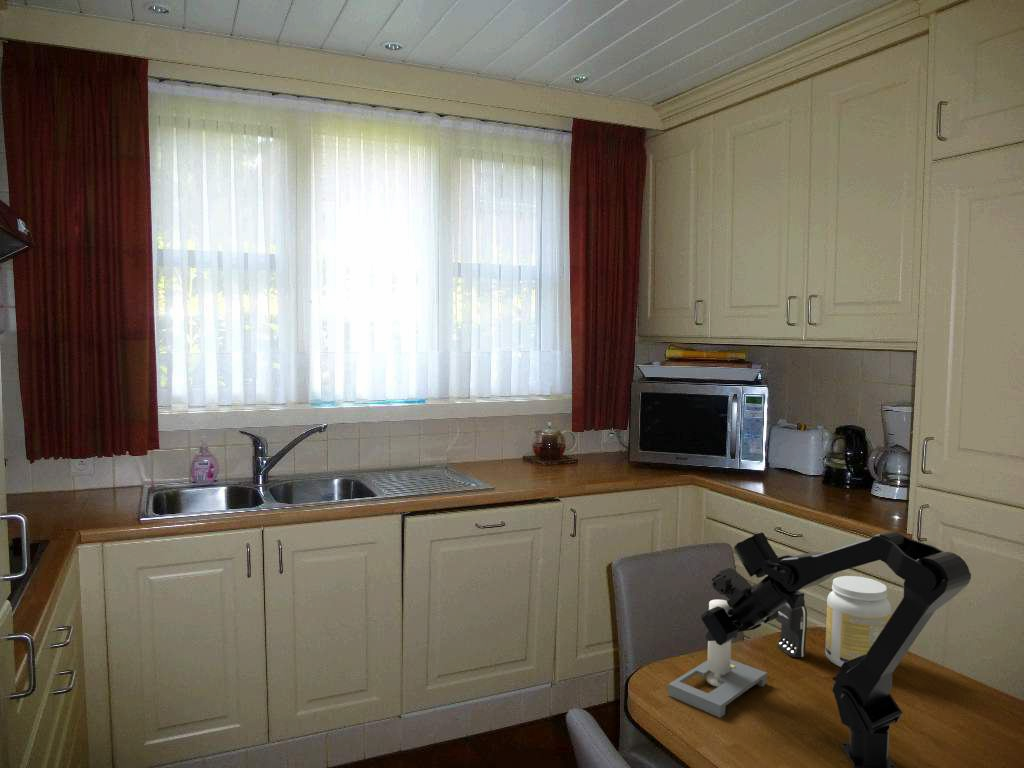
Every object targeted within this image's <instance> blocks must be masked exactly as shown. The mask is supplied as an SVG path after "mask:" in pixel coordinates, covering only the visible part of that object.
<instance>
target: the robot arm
mask: <svg viewBox="0 0 1024 768" xmlns="http://www.w3.org/2000/svg"><path fill="white" fill-rule="evenodd" d="M733 551H734V552H735V554H736V556H737V557H738V559H739V561H740V562H741V564H742V566H743V567H744V569H745V571H746V572H747V574H748V575H749V577H753V576H755V577H756V578H757V579H759V578H763V577H764V578H763V579H761V580H760V581H759V582H757V583H756V584H755V583H754V584H753V585H752V584H751V583H750V582H748V580H747V579H746V578H745V577H744V576H742V575H741V574H740V573H739V572H737V571H736V569H734V568H730V567H729V568H726V569H723V570H719V571H718V573H716V575H715V576H714V577H712V578H711V582H712V584H711V587H712V589H714V591H715V592H717V593H718V594H719V595H721V596H722V595H724V596H725V598H728V600H726V601H727V603H728V605H729V606H730V607H732V609H730V610H728V611H727V613H728V614H727V613H726V611H725V610H724V608H721V607H718V606H717V607H715V608H712V609H710V610H709V609H708V610H706V611H705V612H703V613H702V614H701V615H700V619H701V621H702V622H703V625H705V627H706V629H707V631H706V634H705V637H704V638H705V639H706V641H707V642H708V641H716V643H717V644H719V645H720V646H721V645H723V644H725V643H727V642H729V641H731V642H732V640H735V639H737V637H738V633H740V632H747V631H751V630H752V631H753V630H756V629H757V628H760V627H761V626H762V623H764V625H767V624H768V623H770V622H772V621H774V620H776V618H777V617H778V611H779V610H778V609H780V608H781V607H783V606H784V605H785V604H787V603H788V604H789V606H790V608H791V609H797V608H801V607H804V606H805V607H806V600H805V593H804V592H800V590H804V589H807V588H811V587H815V586H818V585H820V584H821V583H823V582H825V581H827V580H829V579H830V578H832V577H833V576H834V575H836V574H837V573H839V572H843V571H847V570H849V569H853V568H858V567H860V566H864V565H867V564H870V563H874V562H877V561H882V562H883V563H885V564H886V565H887V566H888V568H889V569H890V570H891V571H892V572H893V573H894V574H895V575H896V576H898V578H901V579H902V580H903V597H902V599H901V601H900V602H899V604H898V605H897V606H896V608H895V610H894V611H893V612H892V614H891V617H890V619H889V620H888V622H887V623H886V625H885V626H884V628H883V630H882V631H881V633H880V634H879V636H878V637H877V639H876V640H875V642H874V643H873V645H872V646H871V648H870V649H869V651H868V652H867V654H866V655H865V654H864V655H862V656H859V657H857V658H854V659H851V660H849V661H846V662H844V663H843V665H842V666H841V667H839V668H840V669H839V671H838V674H836V676H833V677H832V678H831V679H832V681H834V683H833V685H832V693H833V695H834V699H835V702H836V705H837V708H838V714H839V717H840V721H841V724H843V725H845V726H846V727H847V728H848V729H849V743H848V742H842V743H841V748H842V750H843V752H844V753H845V755H846V756H847V758H848V759H849V761H850V763H851V764H852V766H853V767H854V768H897V765H895V763H894V762H893V760H892V759H891V758H890V756H889V743H890V742H889V741H890V739H889V738H890V726H891V725H892V724H895V723H896V724H897V723H898V722H900V719H901V718H902V715H903V711H902V709H901V708H900V706H899V705H898V703H897V702H896V700H895V699H894V698H893V696H892V695H891V693H890V692H891V689H892V688H893V673H894V671H895V670H896V668H897V667H898V665H899V664H900V662H901V661H902V659H904V657H905V655H906V654H907V652H908V651H909V650H910V648H911V647H912V645H913V644H914V642H915V641H916V639H917V638H918V637H919V635H920V634H921V632H922V631H923V629H924V628H925V626H926V625H927V624H928V622H929V621H930V619H931V618H932V616H933V614H935V612H936V611H937V610H938V609H939V608H941V607H943V606H944V605H946V604H947V603H949V601H951V600H952V599H953V598H955V597H956V596H957V595H958V594H960V592H961V591H963V589H965V587H967V586H968V584H969V583H970V581H971V579H972V573H971V571H970V569H969V565H968V564H967V562H966V561H965V560H964V559H963V558H962V557H961V556H960V555H958V554H956V553H954V552H951V551H943V550H942V549H940V548H938V547H936V546H934V545H931V544H928V543H924V542H923V541H922V542H921V541H918V540H916V539H912V538H910V537H908V536H906V535H904V534H903V533H900V532H897V531H894V530H892V531H885V532H880V533H878V534H874V535H873V536H872V537H870V538H866V539H864V540H860V541H857V542H854V543H850V544H847V545H845V546H841V547H839V548H835V549H832V550H830V551H824V552H823V551H822V552H820V551H817V552H807V553H802V554H799V555H789V554H787V555H783V556H778V555H777V554H776V552H775V550H774V549H773V548H772V546H771V543H769V541H768V538H767V536H766V535H765V533H764V532H761V531H760V532H758V533H757V532H756V533H755V534H753V535H752V536H749V537H748V538H746V539H744V540H742V541H740V542H738V543H736V544H735V545H734V547H733ZM728 615H729V616H730V617H729V616H728ZM731 615H732V616H731Z"/></svg>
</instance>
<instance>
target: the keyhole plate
mask: <svg viewBox="0 0 1024 768" xmlns="http://www.w3.org/2000/svg"><path fill="white" fill-rule="evenodd" d="M707 661H708V659H707V660H705V661H704V662H702V663H701V664H699V665H698V666H696V667H694V668H693V669H691V670H689V671H687V672H686V673H684V674H682V675H681V676H680V677H677V678H676V679H674V680H673V681H671V682H670V683H668V694H667V696H668V697H670V698H674V699H675V700H677V701H679V702H683V703H685V704H687V705H689V706H692V707H694V708H696V709H699V710H701V711H703V712H706V713H708V714H710V715H713V716H715V717H716V718H720V719H721V718H722V717H723V716H725V715H726V706H727V705H729V704H730V703H731V702H733V701H734V700H735V699H737V698H738V697H740V696H741V695H742V694H744V693H745V692H747V691H748V690H749V689H750V688H752V687H754V686H756V684H757V686H759V685H760V686H759V687H761V686H763V687H764V686H765V685H767V678H768V677H767V676H768V672H766V671H763V670H760V669H759V668H756V667H752V666H750V665H747V664H744V663H741V662H739V661H737V660H736V661H735V660H733V659H731V663H730V672H729V673H726V674H724V675H723V676H721V677H720V678H718V682H719V683H721V684H722V685H720V686H719V687H715V688H714V689H713V690H712V691H710V692H705V691H703V690H701V689H698V688H696V687H693V686H692V685H688V684H686V683H684V682H685V681H687V680H689V679H690V678H692V677H693V676H695V675H699V676H701V677H703V678H705V677H707V675H708V674H709V673H711V671H710V670H708V668H707Z"/></svg>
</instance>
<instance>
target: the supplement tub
mask: <svg viewBox="0 0 1024 768" xmlns="http://www.w3.org/2000/svg"><path fill="white" fill-rule="evenodd" d="M887 588H888V587H887V586H886V585H885V584H884V583H882V582H880V581H879V580H875V579H872V578H868V577H863V576H858V575H844V576H843V575H841V576H838V577H835V578H833V580H832V586H831V589H832V591H830V592H828V595H827V599H826V601H827V603H826V624H825V625H826V626H825V631H826V632H825V648H824V650H825V656H826V658H827V659H828V660H829V661H830V662H831V663H833V665H836V666H837V667H839V668H841V666H842V665H843V663H844V662H846V661H849V660H851V659H854V658H857V657H859V656H862V655H864V654H865V655H866V654H867V652H868V651H869V649H870V648H871V646H872V645H873V643H874V642H875V640H876V639H877V637H878V636H879V634H880V633H881V631H882V630H883V628H884V626H885V625H886V623H887V622H888V620H889V619H890V617H891V616H892V614H891V613H892V608H891V607H892V605H891V603H890V601H889V600H888V599H887V598H888V592H887V591H888V589H887Z"/></svg>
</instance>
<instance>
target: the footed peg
mask: <svg viewBox="0 0 1024 768" xmlns="http://www.w3.org/2000/svg"><path fill="white" fill-rule="evenodd" d="M727 601H728V600H725V599H717V598H716V599H711V600H710V601H709V602H708V610H710V609H712V608H715V607H717V606H718V607H721V608H724V610H725V611H726V613H727V611H728V610H730V609H732V607H730V606H729V605H728V603H727ZM727 614H728V613H727ZM728 616H729V615H728ZM731 616H732V615H731ZM729 617H730V616H729ZM731 656H732V640H731V641H729V642H727V643H725V644H723V645H721V646H720V645H719V644H717V643H716V641H707V660H708V661H707V660H706V661H707V668H708V670H710V671H711V673H709V674H708V675H706V682H707V683H708V684H709V685H711V686H714V687H715V688H717V687H719V686H720V685H722V684H721V683H719V682H718V678H720V677H721V676H723V675H724V674H726V673H729V672H730V663H731V660H732V659H731V658H732V657H731Z"/></svg>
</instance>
